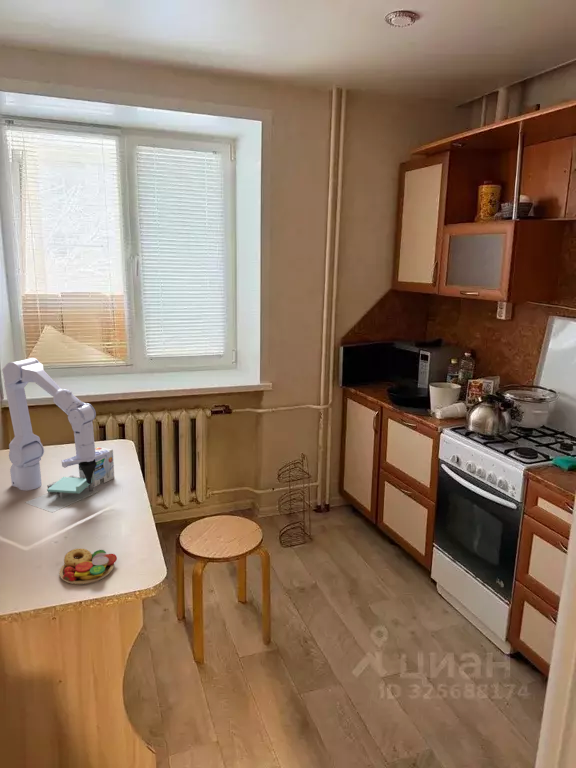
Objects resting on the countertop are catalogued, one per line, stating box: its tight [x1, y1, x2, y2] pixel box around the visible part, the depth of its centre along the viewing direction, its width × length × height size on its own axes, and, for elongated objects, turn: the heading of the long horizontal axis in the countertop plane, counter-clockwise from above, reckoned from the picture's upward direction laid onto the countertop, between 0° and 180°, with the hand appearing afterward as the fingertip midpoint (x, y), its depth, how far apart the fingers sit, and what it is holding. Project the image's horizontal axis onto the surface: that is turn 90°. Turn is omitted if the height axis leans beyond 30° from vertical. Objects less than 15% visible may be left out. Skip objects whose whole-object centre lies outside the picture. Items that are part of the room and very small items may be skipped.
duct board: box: [24, 475, 100, 513], centre depth 174 cm, size 13×18×4 cm
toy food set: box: [58, 548, 118, 586], centre depth 135 cm, size 13×13×3 cm
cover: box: [46, 474, 94, 493], centre depth 174 cm, size 11×10×2 cm
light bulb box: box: [78, 446, 115, 487], centre depth 187 cm, size 11×7×11 cm, turn 160°
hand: (88, 482), depth 173 cm, fingers closed, pressing on cover
